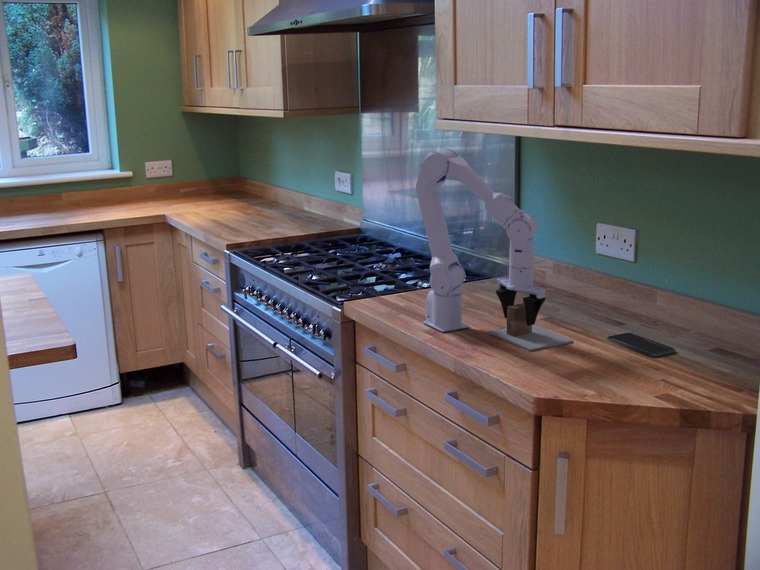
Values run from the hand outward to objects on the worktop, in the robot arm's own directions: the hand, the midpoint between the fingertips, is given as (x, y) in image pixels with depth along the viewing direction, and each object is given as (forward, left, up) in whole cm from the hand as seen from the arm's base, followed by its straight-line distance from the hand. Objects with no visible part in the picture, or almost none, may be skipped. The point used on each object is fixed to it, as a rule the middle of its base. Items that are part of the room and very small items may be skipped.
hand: (519, 320), depth 200 cm
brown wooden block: (0, 0, -3) cm, 3 cm away
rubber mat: (+3, +1, -4) cm, 5 cm away
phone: (+21, +19, -4) cm, 29 cm away
